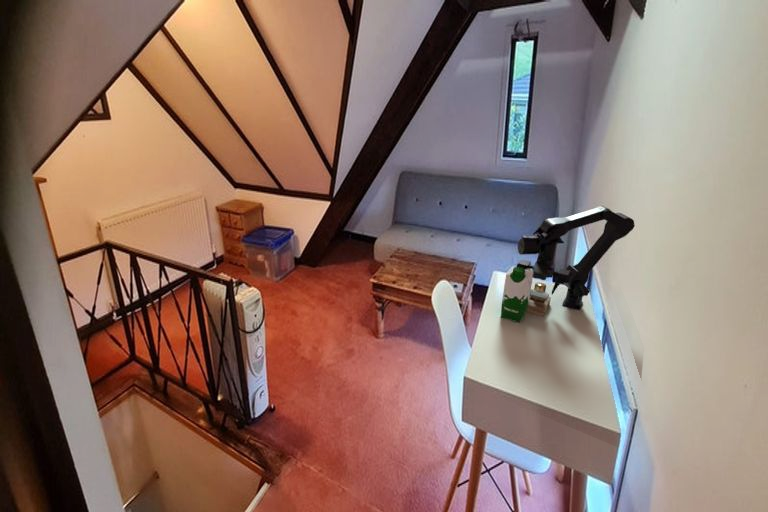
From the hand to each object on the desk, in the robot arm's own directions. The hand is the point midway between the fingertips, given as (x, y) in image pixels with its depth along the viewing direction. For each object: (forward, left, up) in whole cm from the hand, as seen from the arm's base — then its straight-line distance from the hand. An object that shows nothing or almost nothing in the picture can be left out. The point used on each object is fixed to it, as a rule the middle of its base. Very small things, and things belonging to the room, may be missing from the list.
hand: (539, 290), depth 150 cm
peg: (0, 0, -6) cm, 6 cm away
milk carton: (+13, -6, -7) cm, 15 cm away
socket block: (+2, 0, -6) cm, 7 cm away
